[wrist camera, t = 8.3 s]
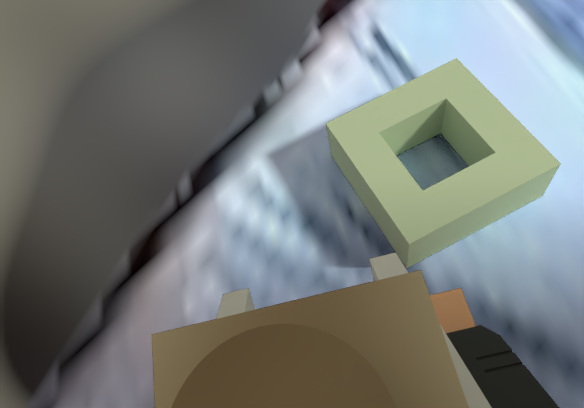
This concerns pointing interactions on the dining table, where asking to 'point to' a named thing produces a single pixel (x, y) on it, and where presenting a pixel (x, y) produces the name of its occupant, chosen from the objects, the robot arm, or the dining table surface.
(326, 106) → the dining table surface
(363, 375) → the peg block
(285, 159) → the dining table surface
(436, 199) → the green square ring
